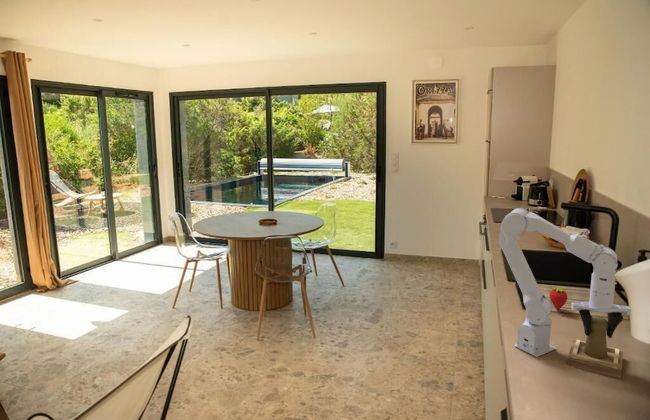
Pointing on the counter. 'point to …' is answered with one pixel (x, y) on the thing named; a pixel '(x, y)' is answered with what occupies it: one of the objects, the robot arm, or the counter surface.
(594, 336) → the cork
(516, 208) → the robot arm
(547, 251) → the counter surface
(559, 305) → the strawberry
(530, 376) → the counter surface
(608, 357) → the wooden serving tray
